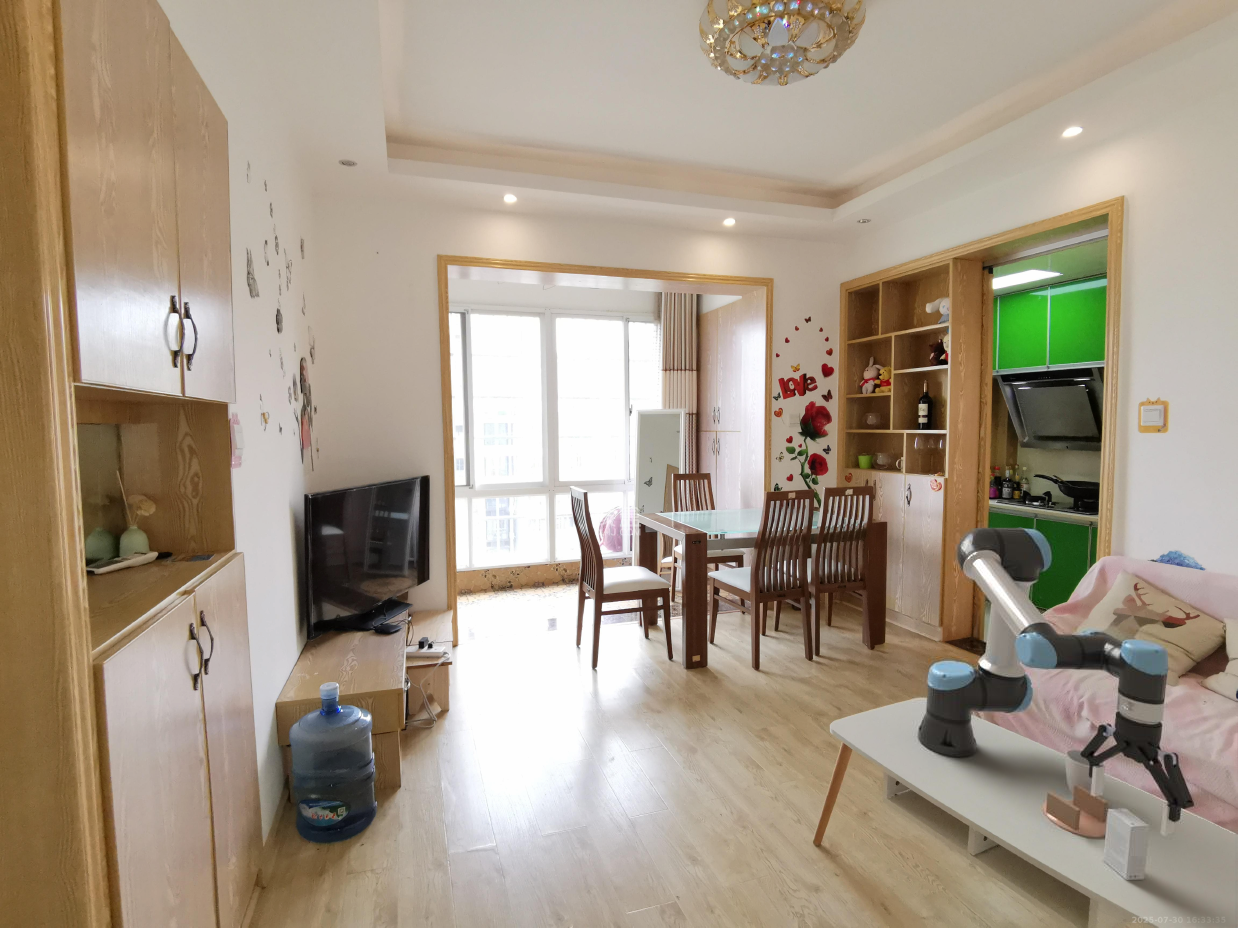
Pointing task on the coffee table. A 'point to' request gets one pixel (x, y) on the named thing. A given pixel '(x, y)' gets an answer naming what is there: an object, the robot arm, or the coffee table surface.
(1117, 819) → the skincare box
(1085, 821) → the napkin holder
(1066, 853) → the coffee table surface
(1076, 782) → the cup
